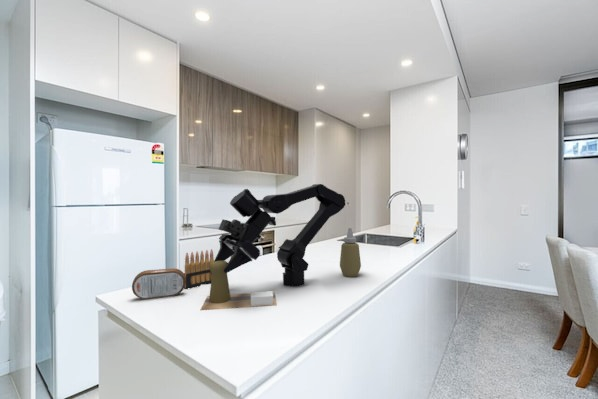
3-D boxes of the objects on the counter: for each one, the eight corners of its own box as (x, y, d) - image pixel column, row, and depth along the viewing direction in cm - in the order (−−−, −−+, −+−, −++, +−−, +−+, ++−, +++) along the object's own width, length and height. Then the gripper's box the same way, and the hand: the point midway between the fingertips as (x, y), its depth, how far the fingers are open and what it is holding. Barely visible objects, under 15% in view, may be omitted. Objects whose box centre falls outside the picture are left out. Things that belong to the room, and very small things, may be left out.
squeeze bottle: (364, 273, 112) (363, 227, 112) (356, 279, 105) (356, 230, 105) (344, 271, 116) (344, 226, 116) (336, 276, 109) (335, 228, 109)
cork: (215, 295, 86) (215, 258, 86) (234, 296, 85) (233, 259, 85) (204, 302, 80) (204, 263, 80) (224, 304, 79) (224, 264, 79)
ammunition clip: (185, 289, 96) (185, 253, 96) (183, 288, 97) (183, 252, 97) (215, 282, 103) (215, 249, 103) (213, 281, 104) (212, 248, 104)
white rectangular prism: (272, 299, 82) (272, 291, 82) (273, 304, 78) (273, 296, 78) (251, 300, 81) (251, 292, 81) (250, 306, 77) (250, 297, 77)
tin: (186, 292, 93) (185, 266, 93) (186, 295, 90) (185, 268, 90) (133, 298, 88) (132, 271, 87) (131, 302, 85) (130, 273, 85)
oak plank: (274, 295, 89) (274, 291, 89) (277, 309, 78) (277, 305, 78) (207, 299, 86) (207, 295, 86) (200, 314, 75) (200, 310, 75)
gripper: (224, 208, 93) (189, 246, 87) (248, 210, 77) (208, 257, 71) (247, 230, 97) (216, 268, 91) (274, 237, 82) (238, 282, 76)
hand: (219, 268), depth 82 cm, fingers open, 9 cm apart
